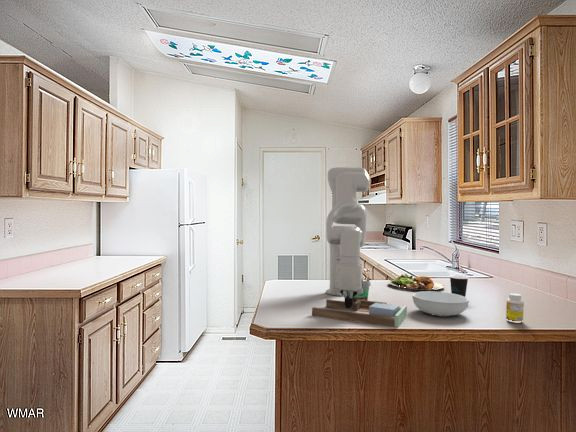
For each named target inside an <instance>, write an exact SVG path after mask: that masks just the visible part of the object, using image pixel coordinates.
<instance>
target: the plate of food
mask: <svg viewBox="0 0 576 432" xmlns="http://www.w3.org/2000/svg"><path fill="white" fill-rule="evenodd" d="M388 283H389V285H392V286H394V287H398V288H400V287H401V288H400V289H404V287H406V288H407V289H409V290H411V289H412V290H415V291H416V290H418V291H433V290H434V291H435V290H440V289H441V290H442V289H444V288H445V284H444V283H442V282H439V281H435V280H432V278H431V277H429V276H426V275H421V276H415V277H414V276H413V275H410V276H409V275H408V274H407V273H405V274H403V273H402V274H401V275H399V276H398V277H397V278H394V279H389V281H388ZM399 285H400V287H399ZM433 286H436V287H437V289H436V288H434V287H433ZM432 288H433V290H432Z"/></svg>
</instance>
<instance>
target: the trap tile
mask: <svg viewBox="0 0 576 432" xmlns="http://www.w3.org/2000/svg"><path fill="white" fill-rule="evenodd" d="M363 311H365V313H369V308H360V309H359V310H357V312H363Z"/></svg>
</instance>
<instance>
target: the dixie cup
mask: <svg viewBox="0 0 576 432" xmlns="http://www.w3.org/2000/svg"><path fill="white" fill-rule="evenodd" d="M449 279H450V293H452V294H457V295H461V296H464V297H466V294H467V287H468V280H469V277H468V276H466V275H459V274H456V275H455V274H453V275H449Z"/></svg>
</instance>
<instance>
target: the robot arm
mask: <svg viewBox="0 0 576 432" xmlns="http://www.w3.org/2000/svg"><path fill="white" fill-rule="evenodd" d="M369 175H370V174H368V171H367V170H366V168H364V167H351V166H349V167H345V166H344V167H343V166H338V167H331V168H329V170H328V171H327V183H328V185H329V188H330V191H331V195H332V198H331V201H332V202H331V209H330V211H329V213H328V215H327V216H326V223H325V226H326V227H325V229H326V230H325V231H326V233H325V234H326V235H325V236H326V241H327V242H328V244H329V245H328V246H329V288H328V289H326V291H325V293H326V294H327V295H330V296H337V297H343V298H344V301H345V305H346V308H348V309H350V308H351V307H352V306H353V297H354V296H355V295H357V294H362V293H363V289H362V288H363V281H364V274H363V267H362V264H361V263H360V261H361V260H360V259H361V256H360V255H361V253H360V251H361V248H362V247H364V246H365V245H366V240H367V210H366V207H365V206H364V205H362V204H358V202H357V193H366V192H368V191H370V190H369V189H370V187H371V186H370V184H371V180H370V176H369ZM334 223H335V224H336V225H334ZM351 225H353V226H351ZM348 291H350V296H349V294H348Z"/></svg>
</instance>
